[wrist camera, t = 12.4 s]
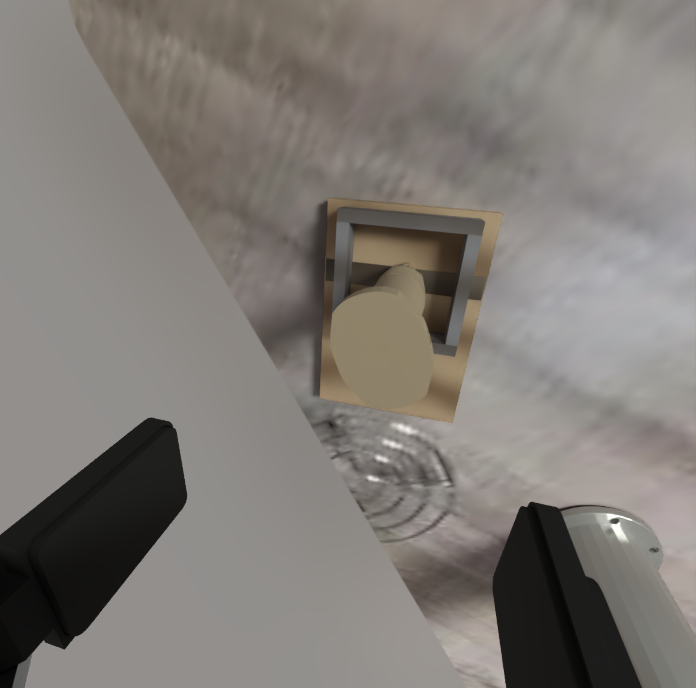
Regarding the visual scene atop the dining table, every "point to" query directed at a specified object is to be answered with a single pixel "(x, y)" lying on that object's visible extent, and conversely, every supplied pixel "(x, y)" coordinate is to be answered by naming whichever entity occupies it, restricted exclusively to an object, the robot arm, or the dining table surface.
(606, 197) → the dining table surface
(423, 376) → the handle
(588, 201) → the dining table surface
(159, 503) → the robot arm
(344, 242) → the subfloor panel
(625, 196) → the dining table surface
